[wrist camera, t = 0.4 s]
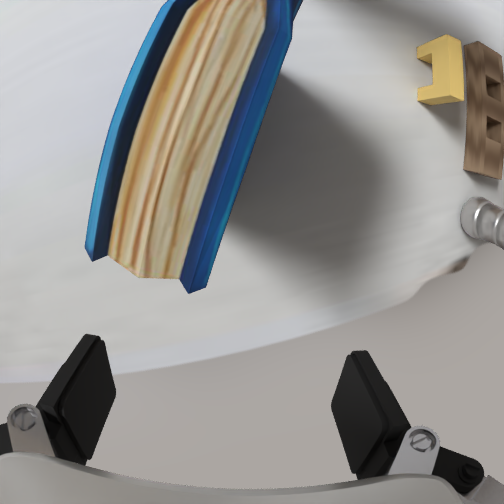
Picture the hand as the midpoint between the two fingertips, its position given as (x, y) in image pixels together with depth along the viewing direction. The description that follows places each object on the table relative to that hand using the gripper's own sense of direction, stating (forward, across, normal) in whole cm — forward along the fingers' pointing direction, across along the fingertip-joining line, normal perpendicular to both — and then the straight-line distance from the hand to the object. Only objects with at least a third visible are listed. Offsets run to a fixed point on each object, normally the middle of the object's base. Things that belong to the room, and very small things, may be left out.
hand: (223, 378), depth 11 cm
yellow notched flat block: (+30, -26, -24) cm, 46 cm away
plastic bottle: (+30, -38, -4) cm, 49 cm away
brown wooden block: (+30, -38, -22) cm, 53 cm away
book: (+30, +2, -11) cm, 32 cm away
